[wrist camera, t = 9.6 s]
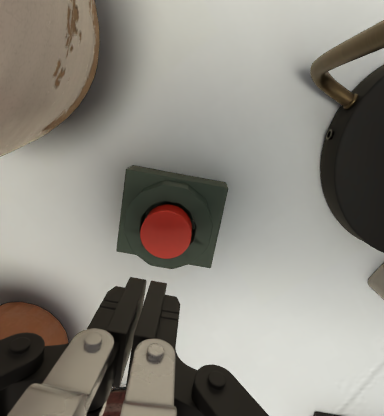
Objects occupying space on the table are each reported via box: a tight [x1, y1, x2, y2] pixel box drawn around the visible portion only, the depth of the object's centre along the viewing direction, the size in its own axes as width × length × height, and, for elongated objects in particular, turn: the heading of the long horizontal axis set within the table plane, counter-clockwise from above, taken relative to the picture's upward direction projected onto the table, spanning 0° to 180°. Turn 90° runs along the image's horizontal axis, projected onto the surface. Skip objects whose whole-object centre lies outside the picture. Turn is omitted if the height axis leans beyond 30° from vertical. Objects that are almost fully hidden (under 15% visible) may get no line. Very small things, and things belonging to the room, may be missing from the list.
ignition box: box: [117, 165, 228, 269], centre depth 24 cm, size 8×7×4 cm
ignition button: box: [140, 204, 192, 259], centre depth 21 cm, size 4×4×2 cm
